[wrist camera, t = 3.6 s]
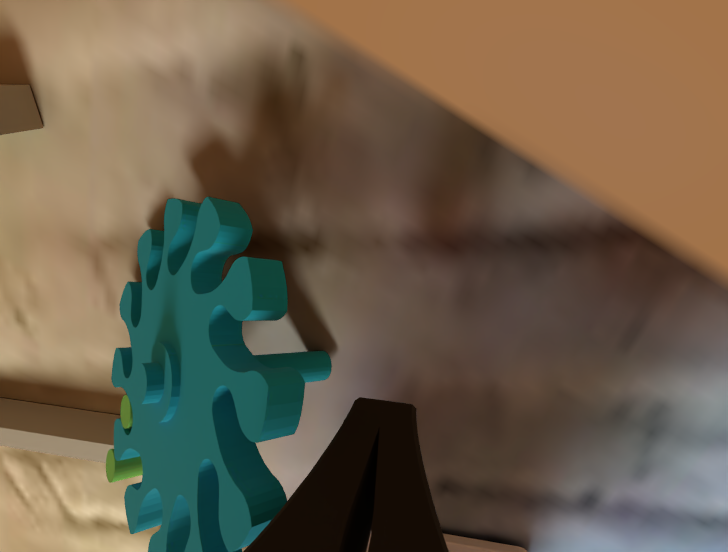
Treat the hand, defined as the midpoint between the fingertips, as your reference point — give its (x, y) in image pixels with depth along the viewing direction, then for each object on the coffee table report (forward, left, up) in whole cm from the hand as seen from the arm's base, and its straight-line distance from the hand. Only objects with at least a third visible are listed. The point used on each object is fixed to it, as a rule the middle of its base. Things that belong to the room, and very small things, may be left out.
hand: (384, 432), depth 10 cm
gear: (0, +6, -5) cm, 8 cm away
